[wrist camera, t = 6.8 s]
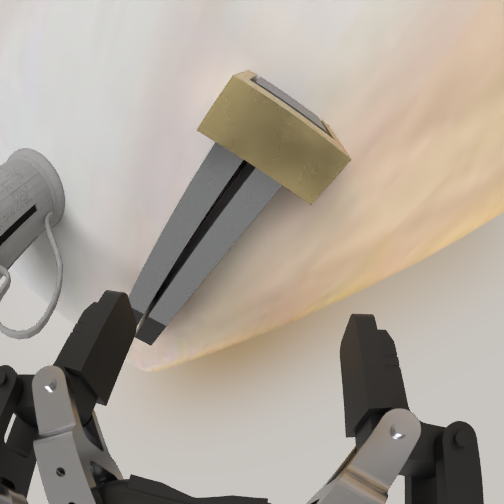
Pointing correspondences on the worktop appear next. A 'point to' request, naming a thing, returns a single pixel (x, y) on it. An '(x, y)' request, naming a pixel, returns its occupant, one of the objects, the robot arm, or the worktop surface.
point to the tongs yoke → (290, 102)
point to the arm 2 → (208, 247)
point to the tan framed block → (274, 137)
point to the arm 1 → (183, 224)
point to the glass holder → (28, 218)
